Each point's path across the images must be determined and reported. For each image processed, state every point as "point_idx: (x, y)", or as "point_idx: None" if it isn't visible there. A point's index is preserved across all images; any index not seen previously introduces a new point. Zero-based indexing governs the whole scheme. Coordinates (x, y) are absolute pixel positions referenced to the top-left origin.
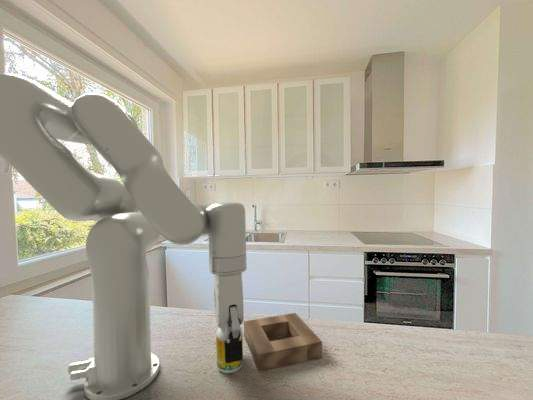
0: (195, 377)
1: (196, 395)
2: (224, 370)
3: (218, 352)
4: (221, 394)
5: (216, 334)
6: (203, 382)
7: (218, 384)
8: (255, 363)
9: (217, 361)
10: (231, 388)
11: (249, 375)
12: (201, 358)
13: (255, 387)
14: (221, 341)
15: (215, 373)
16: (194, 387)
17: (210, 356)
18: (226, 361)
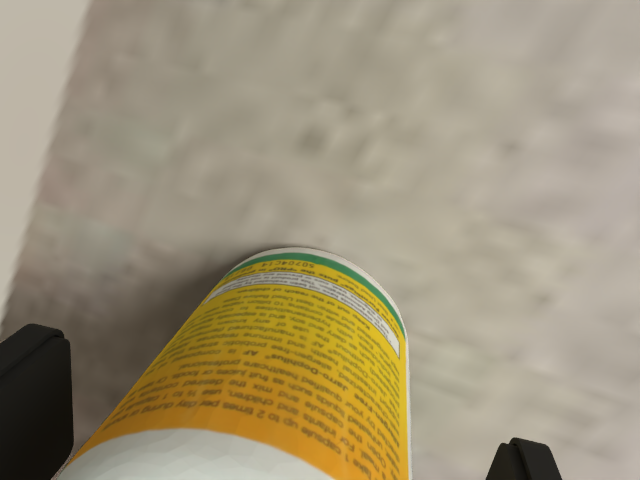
0: (288, 49)
1: (84, 17)
2: (220, 280)
3: (221, 320)
4: (46, 187)
5: (207, 465)
6: (201, 101)
7: (140, 198)
8: None
9: (281, 269)
10: (78, 260)
11: None
12: (531, 160)
13: None
14: (96, 440)
15: (263, 213)
16: (173, 17)
17: (507, 242)
18: (27, 334)
